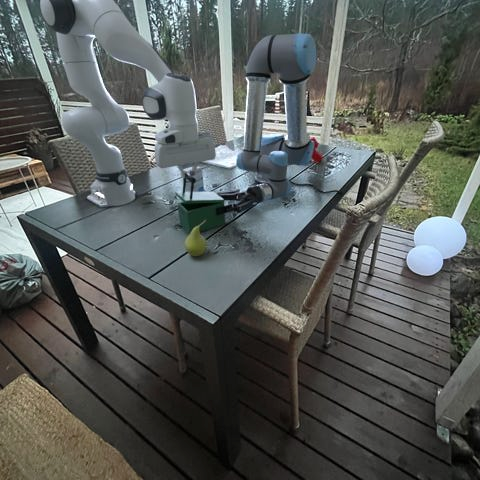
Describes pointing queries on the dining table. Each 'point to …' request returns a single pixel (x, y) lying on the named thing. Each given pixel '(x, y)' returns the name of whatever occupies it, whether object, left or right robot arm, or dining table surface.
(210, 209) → the chest
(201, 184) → the ink box
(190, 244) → the fruit
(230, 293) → the dining table surface
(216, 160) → the relief map
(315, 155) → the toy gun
